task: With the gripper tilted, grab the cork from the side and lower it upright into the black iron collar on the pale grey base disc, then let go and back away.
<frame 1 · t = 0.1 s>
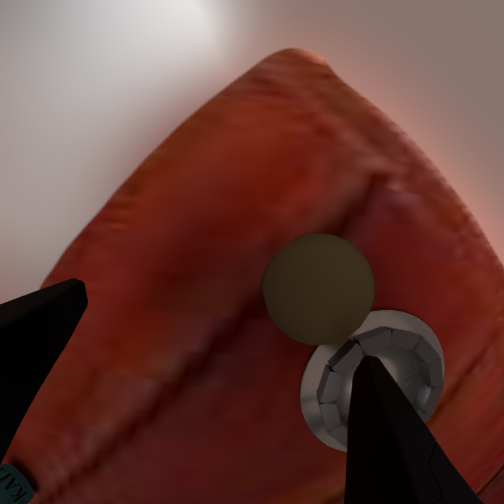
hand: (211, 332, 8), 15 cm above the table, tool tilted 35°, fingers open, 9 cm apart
cork: (301, 285, 23), on the table
beverage bottle: (25, 476, 23), on the table
iron collar: (376, 385, 22), on the table
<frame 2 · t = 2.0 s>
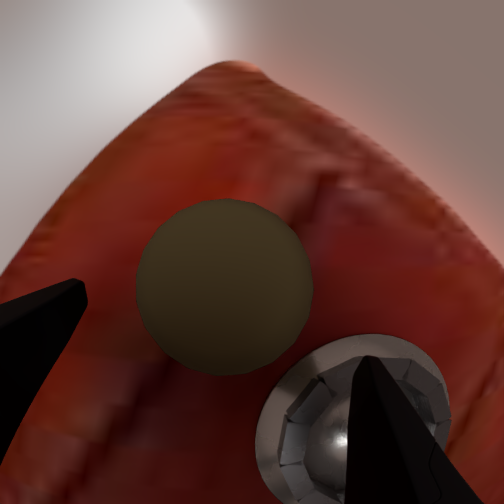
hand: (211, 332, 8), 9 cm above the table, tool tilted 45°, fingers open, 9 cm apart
cork: (240, 316, 18), on the table
iron collar: (360, 434, 15), on the table
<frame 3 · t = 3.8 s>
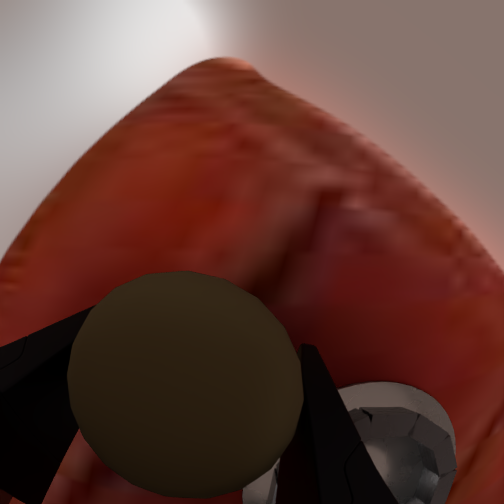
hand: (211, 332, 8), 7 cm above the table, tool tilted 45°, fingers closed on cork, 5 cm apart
cork: (226, 361, 15), on the table, touching gripper
iron collar: (357, 484, 12), on the table
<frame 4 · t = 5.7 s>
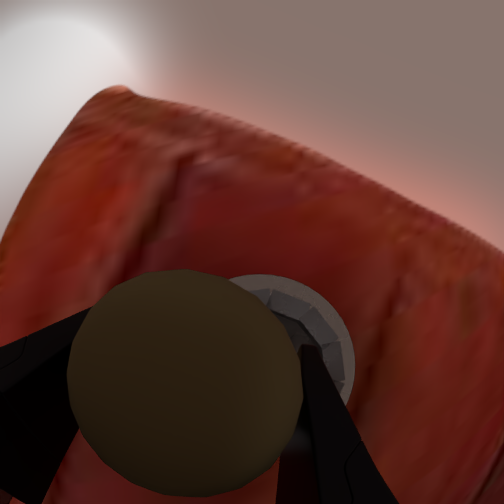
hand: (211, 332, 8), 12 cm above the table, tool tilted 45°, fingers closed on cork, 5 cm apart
cork: (225, 361, 15), point 5 cm above the table, touching gripper
iron collar: (259, 369, 19), on the table
when the fingers open (9 cm above the table, at t = 7.6 s): cork stays where it is, resting on iron collar.
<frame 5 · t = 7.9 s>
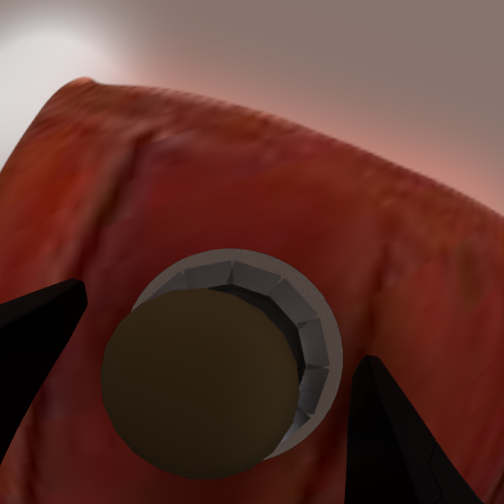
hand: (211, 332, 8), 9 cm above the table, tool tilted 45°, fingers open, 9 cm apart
cork: (228, 362, 16), resting on iron collar
iron collar: (229, 359, 17), on the table
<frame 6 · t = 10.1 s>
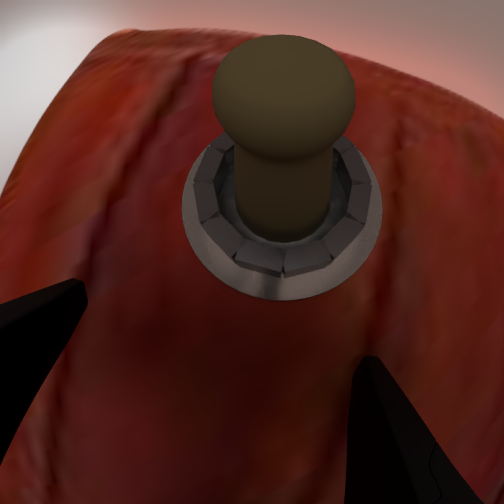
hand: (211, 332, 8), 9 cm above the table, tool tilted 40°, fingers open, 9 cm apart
cork: (282, 198, 19), resting on iron collar
iron collar: (282, 199, 19), on the table
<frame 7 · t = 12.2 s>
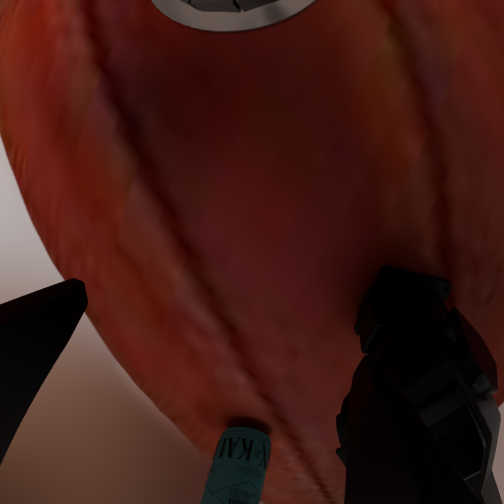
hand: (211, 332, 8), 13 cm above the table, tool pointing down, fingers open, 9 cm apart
beverage bottle: (249, 427, 34), on the table
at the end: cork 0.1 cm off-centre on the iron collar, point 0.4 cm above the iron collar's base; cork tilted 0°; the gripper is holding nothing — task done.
